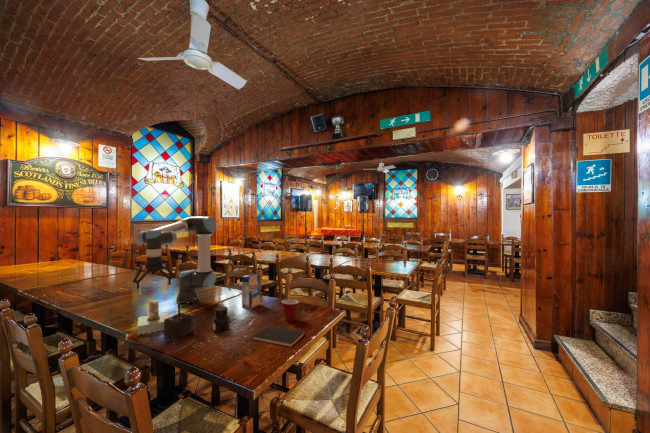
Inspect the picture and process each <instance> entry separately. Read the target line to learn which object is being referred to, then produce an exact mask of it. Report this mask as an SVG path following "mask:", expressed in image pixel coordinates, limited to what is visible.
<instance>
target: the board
mask: <svg viewBox="0 0 650 433" xmlns="http://www.w3.org/2000/svg"><path fill="white" fill-rule="evenodd" d="M169 317H170V316H169V312H163V313H159V319H158V320H155V321H150V320H149V315H143V316H139V317H138V319H137V327H136V330H137V331H136V334H137V335H138V336H140V335H139V334H143V335H145V334H144V333H149V332H154V333H157V332H156V331H159V332H162V331H161V330H164V319H167V318H169ZM149 334H150V333H149ZM137 335H136V336H137Z"/></svg>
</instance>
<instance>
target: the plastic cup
mask: <svg viewBox="0 0 650 433" xmlns="http://www.w3.org/2000/svg"><path fill="white" fill-rule="evenodd" d="M299 303H300V302H299V300H297V299H291V298H290V299H283V300H281V304H282V308H283V315H284V319H285V322H294V321H295V319H296V313H297V308H298V304H299Z"/></svg>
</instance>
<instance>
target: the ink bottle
mask: <svg viewBox="0 0 650 433" xmlns="http://www.w3.org/2000/svg"><path fill="white" fill-rule="evenodd" d="M228 311H229V309H228V307H227V306H219V307H216V308H215V309H214V315H215V316H214V317H213V318H212V331H213V332H215V333H224V332H227V331H228V330H230V322H231V321H230V316H229V315H228V313H229V312H228Z"/></svg>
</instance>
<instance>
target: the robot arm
mask: <svg viewBox="0 0 650 433" xmlns="http://www.w3.org/2000/svg"><path fill="white" fill-rule="evenodd" d="M216 229H217V223H216V220H215V219H214V217H212V216H196V215H195V216H194V215H193V216H188V217H185V218H182V219H178V220H177V221H176V222H174V223H171V224H170V223H169V224H167V225H163V226H160V227H158V228H157V227H156V228H154V229H153V228H152V229H147V230H143V231H140V232H138V233H137V235H136V239H137V242H138V243H139V244H144V245H146V246H145V247H146V248H145V250H146V251H145V256H146V258H145V259H146V262H145V265H142V264H140V265H139V269H138V271H137V273H136V275H135V276H134V278H133V280H132V282H133V283H136V289H137V290H138V294H139V296H140V295H142V282H141V281H142V280H143V279H144V278H145V277H146V276H147V275H148V274H149V273H158V272H159V273H161V274H162V276H164V277H165V278H166V291H167V292H169V289H170V288H169V286H170V285H171V284H172V283H171V280H173V279H174V278H175V275H174V274H173V273H172V271H171V269H170V268H169V264H168V263H167V262H165V263H162V245H167V244H168V245H170V244H173V243H175V242H176V241H177V240H178V239H177V238H178V236H177V234H180V233H186V232H195V235H196V236H197V269H187V270H184V271H180V272H179V273H178V274H179V275H178V293H177V296H176V300H175V303H176V302H179V303H187V302H193V301H192V300H193V299H194V298H199V294H198V292H197V289H211V288H212V287H213V286H214V284H215V283H216V280H217V277H216V273H215V272H213V268H211V244H212V243H211V237H212V235H213V234H214V232H215V231H216ZM162 267H164V268H165V269H166V271H167V272H168V273H166V272H165V271H164V270H163V269H162ZM144 269H146V270H145V272H144V273H142V275H141V276H140V274H141V272H142V271H143V270H144ZM168 274H169V275H168ZM139 276H140V277H139ZM137 279H138V280H137Z"/></svg>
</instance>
